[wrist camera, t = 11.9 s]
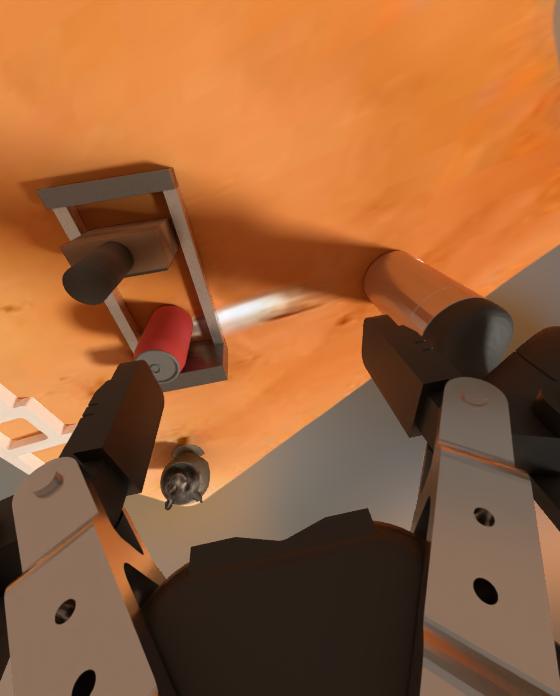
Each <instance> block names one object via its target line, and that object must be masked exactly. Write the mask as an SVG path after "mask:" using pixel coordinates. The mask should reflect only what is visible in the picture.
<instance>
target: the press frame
mask: <svg viewBox="0 0 560 696" xmlns="http://www.w3.org/2000/svg"><path fill="white" fill-rule="evenodd" d="M36 191H37V193H38V195H39V197H40V198H41V200H42V202H43V204H44V205H45V207H46V209H47V210H50V209H52V210H53V212H54V213H55V215H56V217H57V219H58V220H59V222H60V224H61V226H62V228H63V229H64V231H65V233H66V235H67V236H68V238H69V240H70V241H71V240H73V239H75V238H77V237H79V236H80V235H82V234H84V233H86V232H87V229H86V227H85V225H84V223H83V221H82V219H81V217H80V215H79V213H78V211H77V210H76V208H75V206H74V205H80V204H87V203H93V202H99V201H105V200H111V199H117V198H124V197H130V196H136V195H142V194H148V193H154V192H161V191H163V193H164V196H165V199H166V202H167V205H168V208H169V211H170V214H171V217H172V220H173V223H174V226H175V229H176V232H177V235H178V238H179V241H180V244H181V247H182V250H183V253H184V256H185V259H186V262H187V265H188V268H189V271H190V274H191V277H192V280H193V283H194V286H195V289H196V292H197V295H198V298H199V301H200V304H201V307H202V310H203V313H204V316H205V319H206V322H207V325H208V328H209V331H210V334H211V337H212V339H209V340H204V341H199V342H193V343H190V344H189V349H188V354H187V358H186V363H185V365H184V367H183V369H182V370H181V372H180V373H179V374H178V376H177V378H175V379H174V380H173V381H171V382H168V383H162V384H159V386H160V387H161V389H162V392H167V391H173V390H178V389H183V388H188V387H193V386H198V385H203V384H209V383H214V382H219V381H224V380H227V378H228V349H227V346H226V343H225V339H224V336H223V333H222V329H221V326H220V323H219V319H218V316H217V313H216V309H215V306H214V303H213V299H212V296H211V293H210V289H209V286H208V283H207V279H206V276H205V273H204V270H203V266H202V263H201V260H200V256H199V253H198V250H197V246H196V243H195V240H194V236H193V233H192V230H191V226H190V223H189V220H188V216H187V213H186V210H185V206H184V203H183V200H182V196H181V193H180V190H179V186H178V183H177V180H176V177H175V173H174V170H173V168H167V169H161V170H155V171H149V172H142V173H136V174H130V175H123V176H117V177H111V178H104V179H98V180H92V181H86V182H79V183H73V184H67V185H60V186H54V187H48V188H43V189H38V190H36ZM104 302H105V304H106V306H107V307H108V309H109V311H110V313H111V314H112V316H113V318H114V320H115V322H116V323H117V325H118V327H119V329H120V330H121V332H122V334H123V336H124V337H125V339H126V341H127V343H128V345H129V346H130V348H131V350H132V352H133V353H134V351H135V349H136V347H137V345H138V342H139V340H140V338H141V336H142V335H141V334H140V332H139V330H138V328H137V326H136V324H135V322H134V320H133V318H132V316H131V314H130V312H129V310H128V308H127V306H126V304H125V303H124V301H123V299H122V297H121V295H120V293H119V291H118V289H117V287H116V288H115V289H114V290H113V292H112V293H111V294H110V295H109V296H108V297H107V299H106V300H105V301H104Z"/></svg>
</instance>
